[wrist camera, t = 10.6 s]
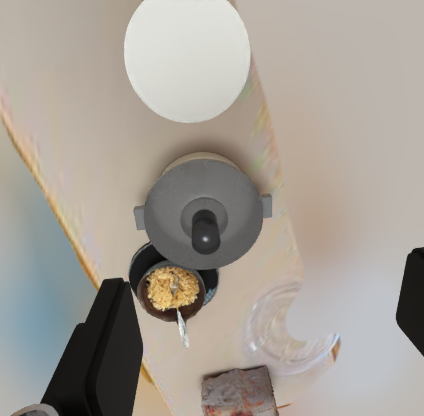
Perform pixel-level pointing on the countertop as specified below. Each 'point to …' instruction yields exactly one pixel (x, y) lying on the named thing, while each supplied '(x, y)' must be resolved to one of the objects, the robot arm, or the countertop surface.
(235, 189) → the lid
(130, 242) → the countertop surface
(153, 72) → the cylindrical container
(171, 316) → the soup bowl
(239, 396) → the food item
